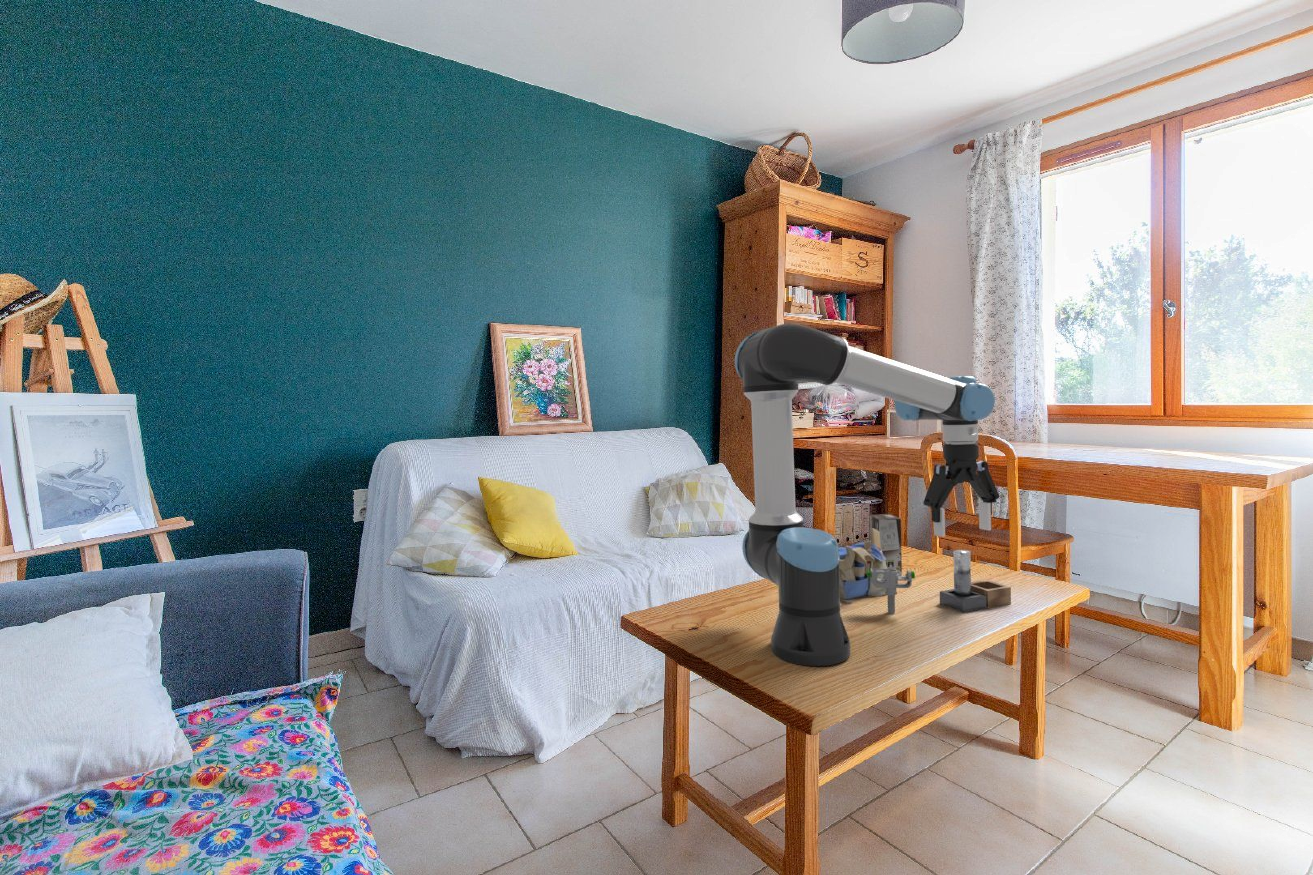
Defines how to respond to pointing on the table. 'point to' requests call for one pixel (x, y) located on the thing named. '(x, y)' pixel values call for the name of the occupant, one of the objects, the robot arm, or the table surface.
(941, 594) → the socket
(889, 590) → the mechanical component
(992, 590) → the open square brown box
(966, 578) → the dome-ended metal rod
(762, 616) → the table surface
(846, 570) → the toy tool belt
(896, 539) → the grey printed carton
